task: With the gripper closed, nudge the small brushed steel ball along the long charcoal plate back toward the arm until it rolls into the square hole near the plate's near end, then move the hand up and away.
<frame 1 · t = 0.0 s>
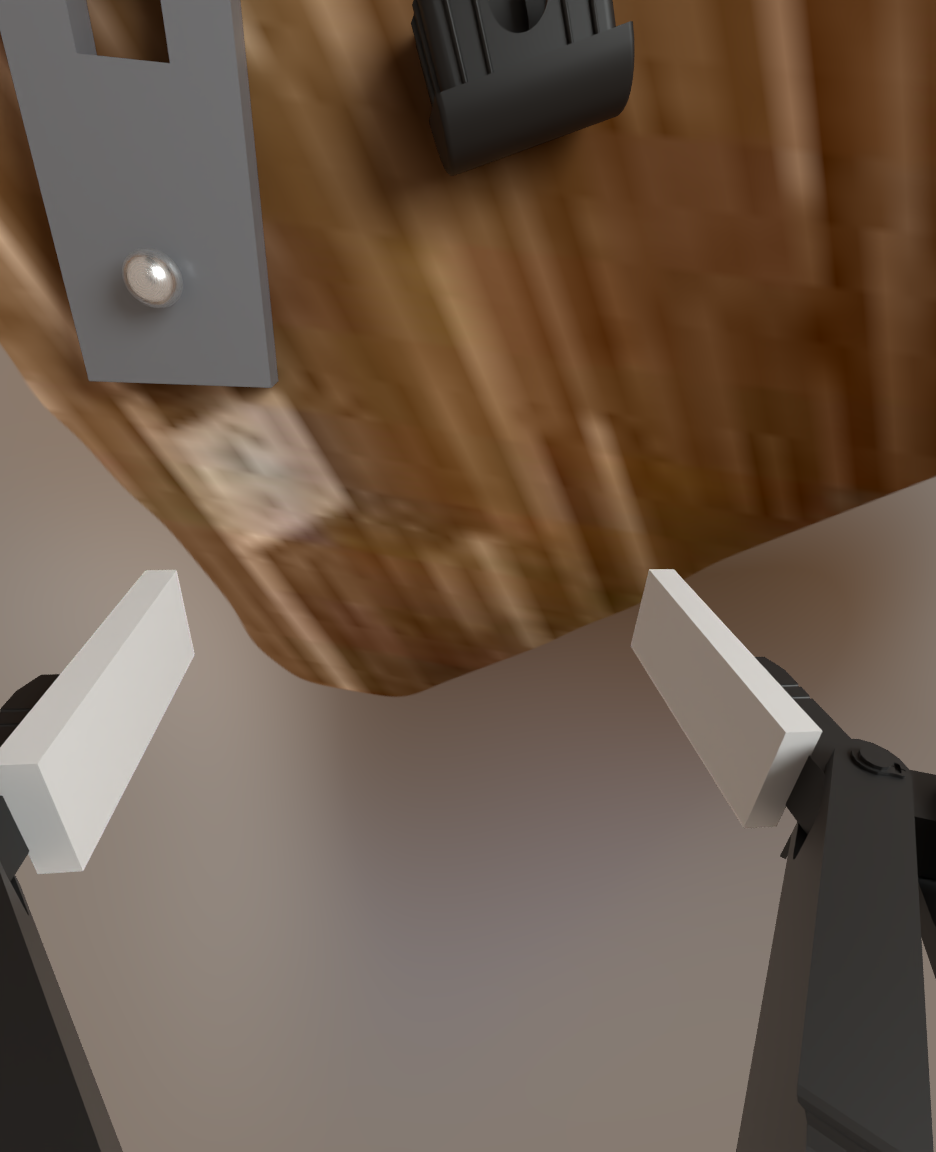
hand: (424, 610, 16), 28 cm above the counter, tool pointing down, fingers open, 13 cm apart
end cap: (506, 85, 33), on the counter
steel ball: (153, 278, 32), point 4 cm above the counter, touching hole plate
hole plate: (157, 159, 32), on the counter
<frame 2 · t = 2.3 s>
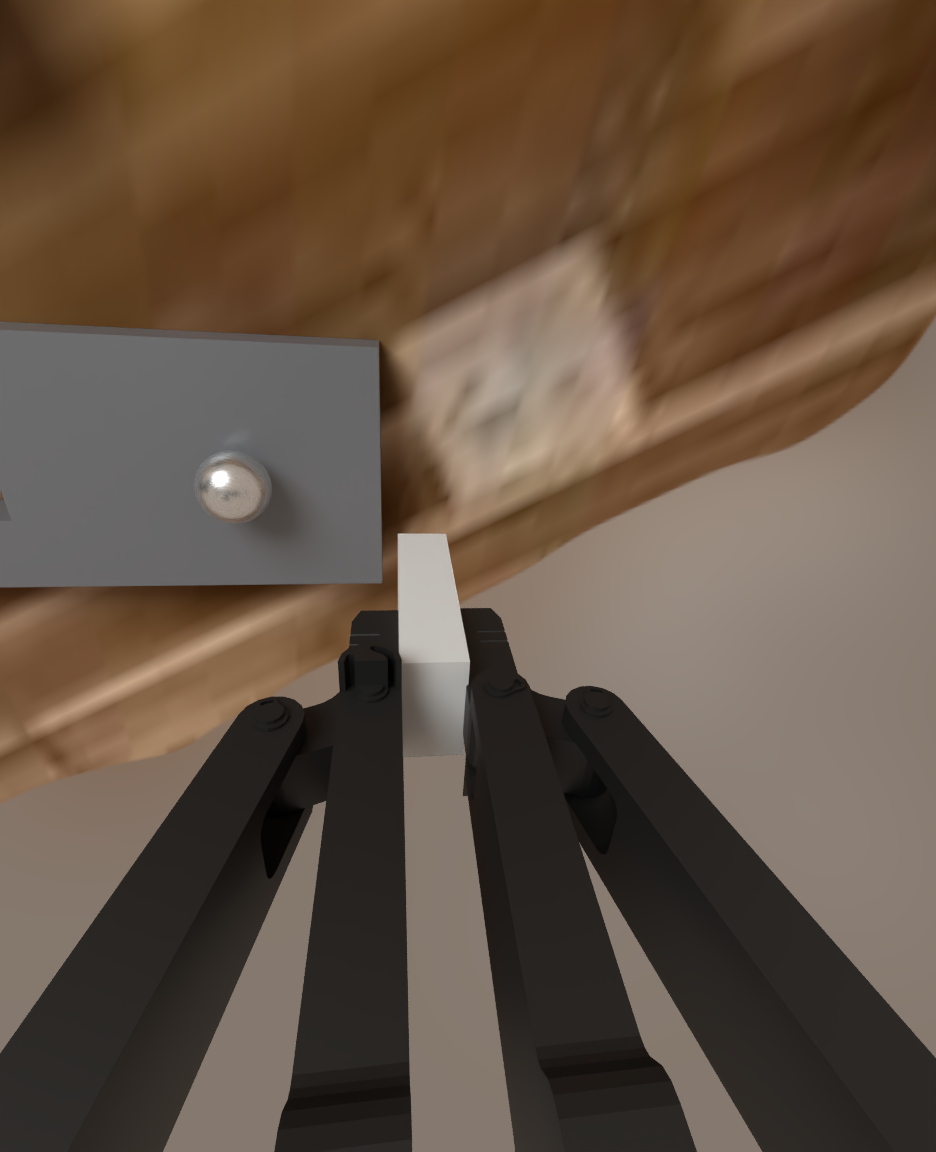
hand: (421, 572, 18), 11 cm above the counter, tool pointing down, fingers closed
steel ball: (233, 487, 23), point 4 cm above the counter, touching hole plate
hole plate: (117, 455, 26), on the counter
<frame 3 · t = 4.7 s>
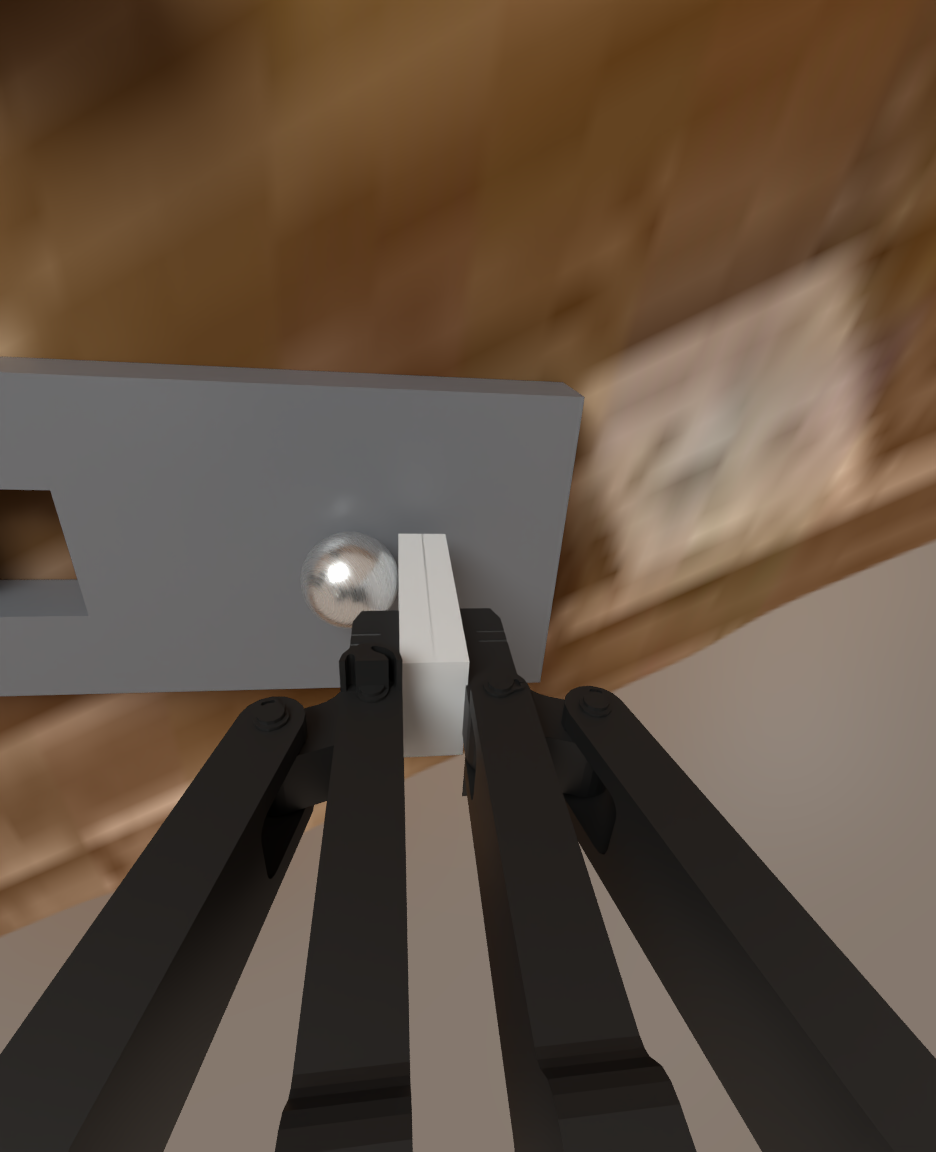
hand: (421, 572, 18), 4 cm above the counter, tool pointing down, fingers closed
steel ball: (350, 580, 17), point 4 cm above the counter, tilted 40°, touching gripper, hole plate
hole plate: (219, 526, 20), on the counter
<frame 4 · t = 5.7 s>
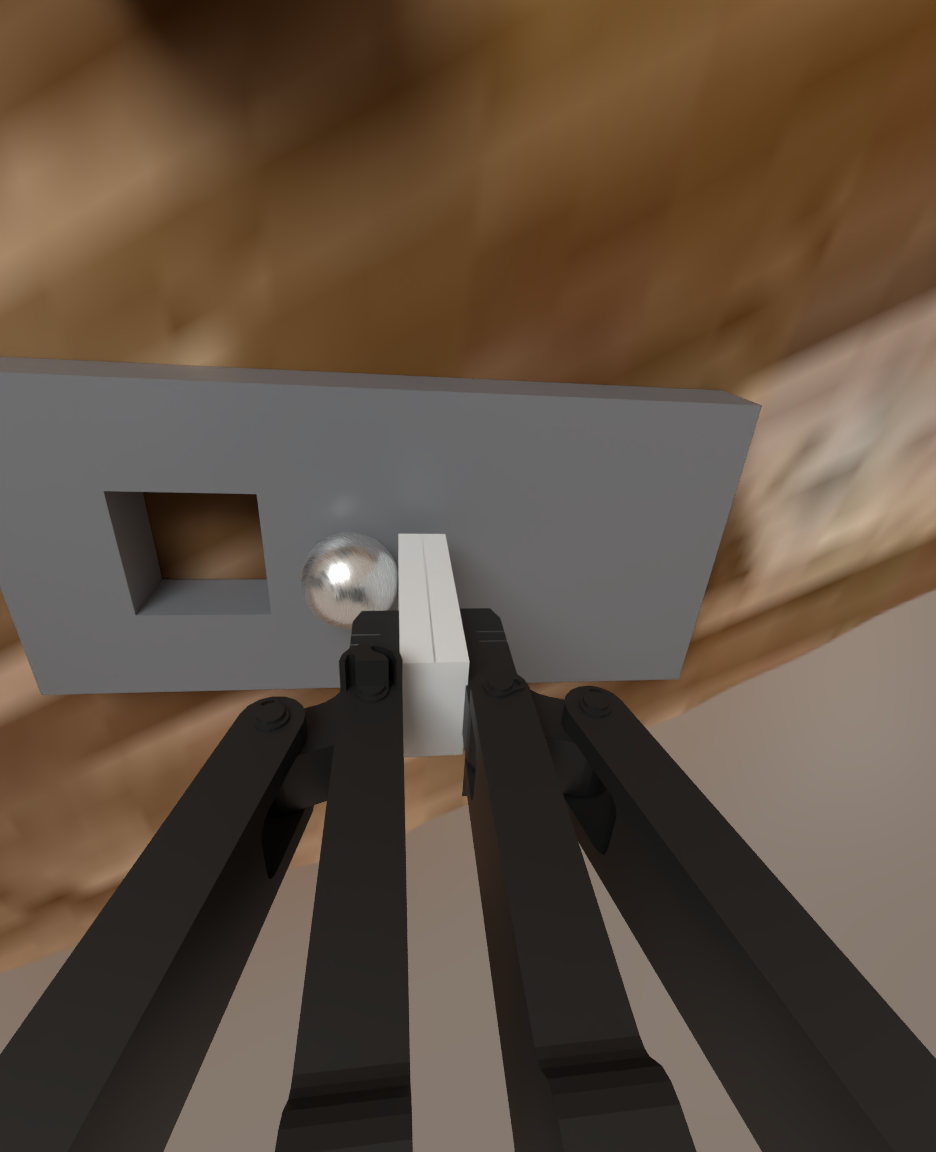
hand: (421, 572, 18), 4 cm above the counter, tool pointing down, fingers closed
steel ball: (350, 580, 17), point 4 cm above the counter, tilted 132°, touching gripper, hole plate
hole plate: (383, 528, 21), on the counter
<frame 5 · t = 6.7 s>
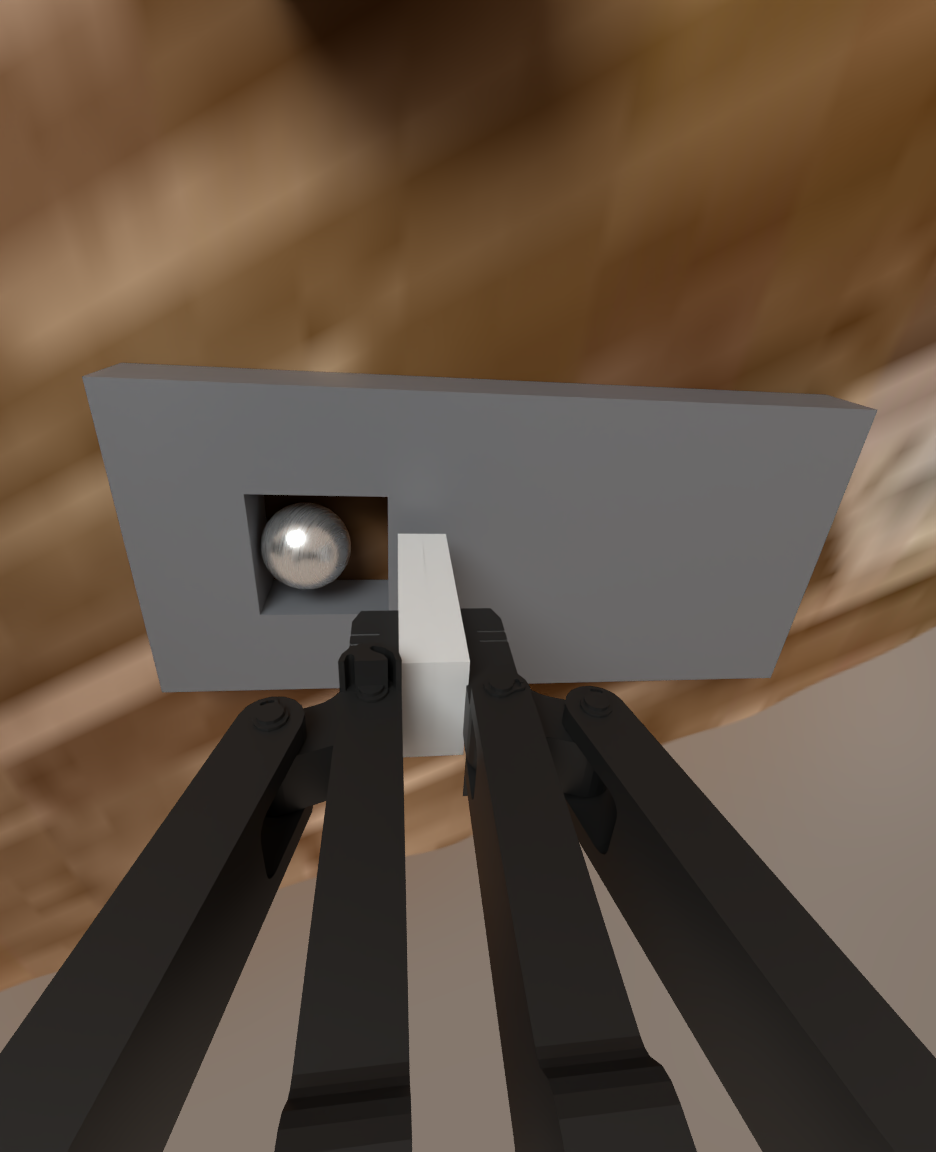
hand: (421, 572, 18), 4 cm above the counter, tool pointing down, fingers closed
steel ball: (306, 546, 19), point 1 cm above the counter, tilted 119°
hole plate: (489, 529, 22), on the counter
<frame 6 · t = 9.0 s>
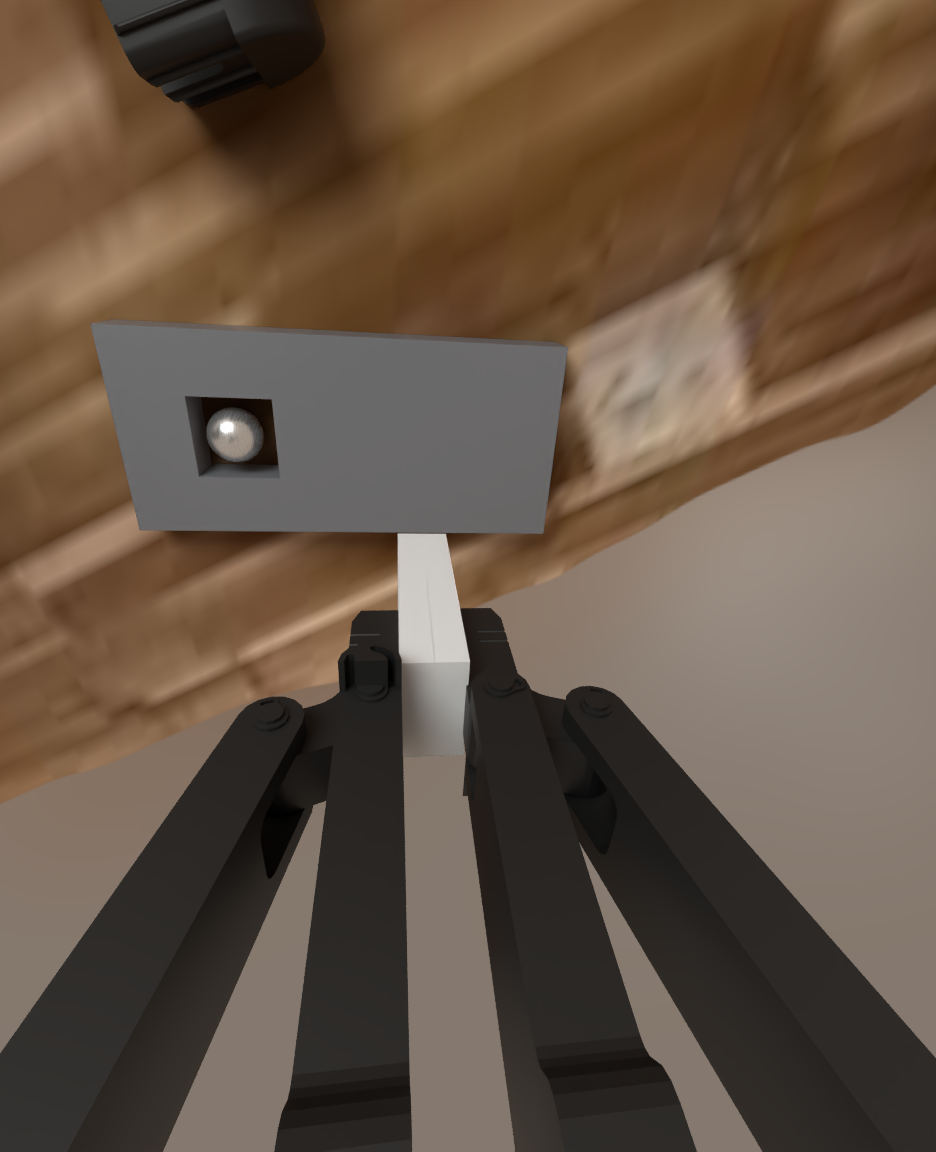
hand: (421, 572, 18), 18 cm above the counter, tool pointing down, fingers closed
steel ball: (235, 435, 32), point 1 cm above the counter, tilted 103°
hole plate: (349, 430, 34), on the counter
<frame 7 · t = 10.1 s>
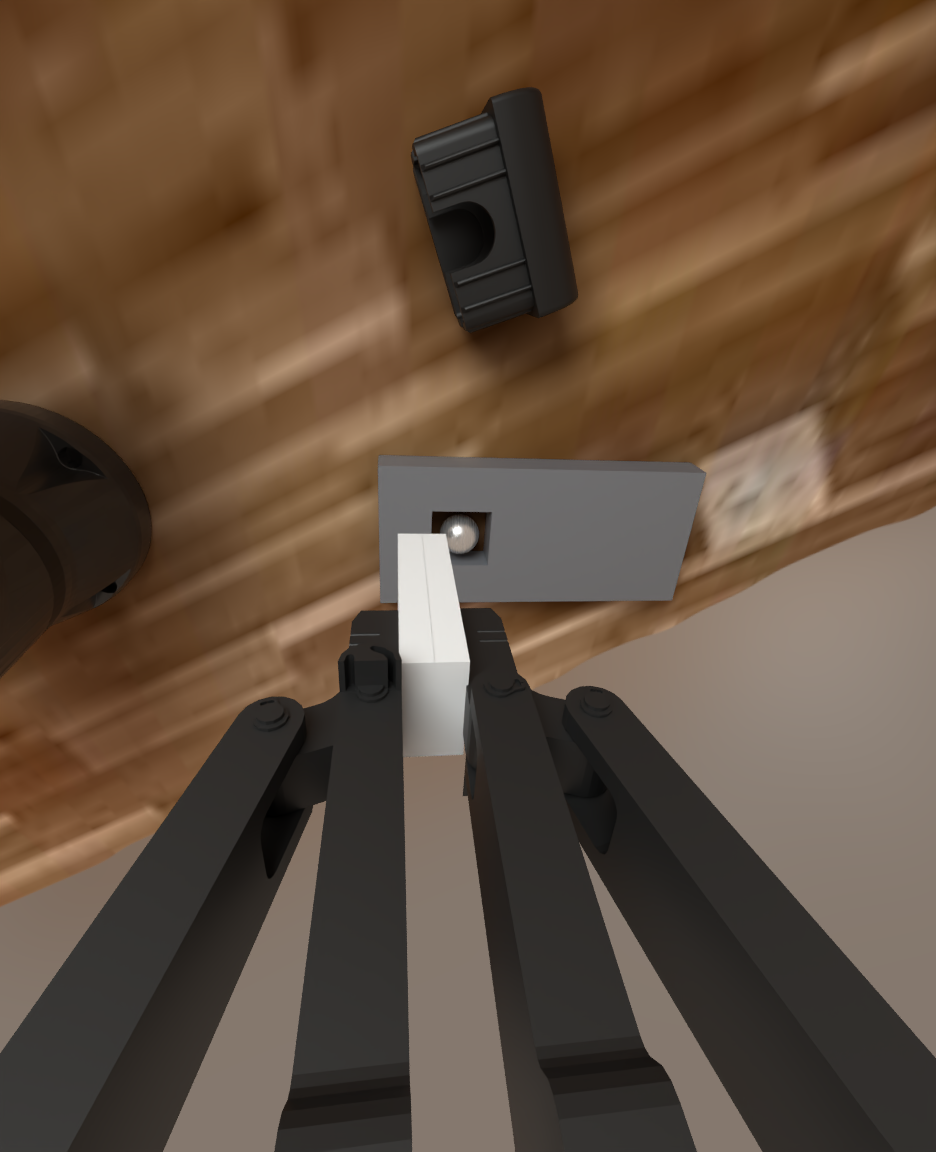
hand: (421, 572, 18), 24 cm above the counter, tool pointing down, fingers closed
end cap: (488, 228, 35), on the counter
steel ball: (459, 534, 43), point 1 cm above the counter, tilted 95°
hole plate: (532, 526, 45), on the counter
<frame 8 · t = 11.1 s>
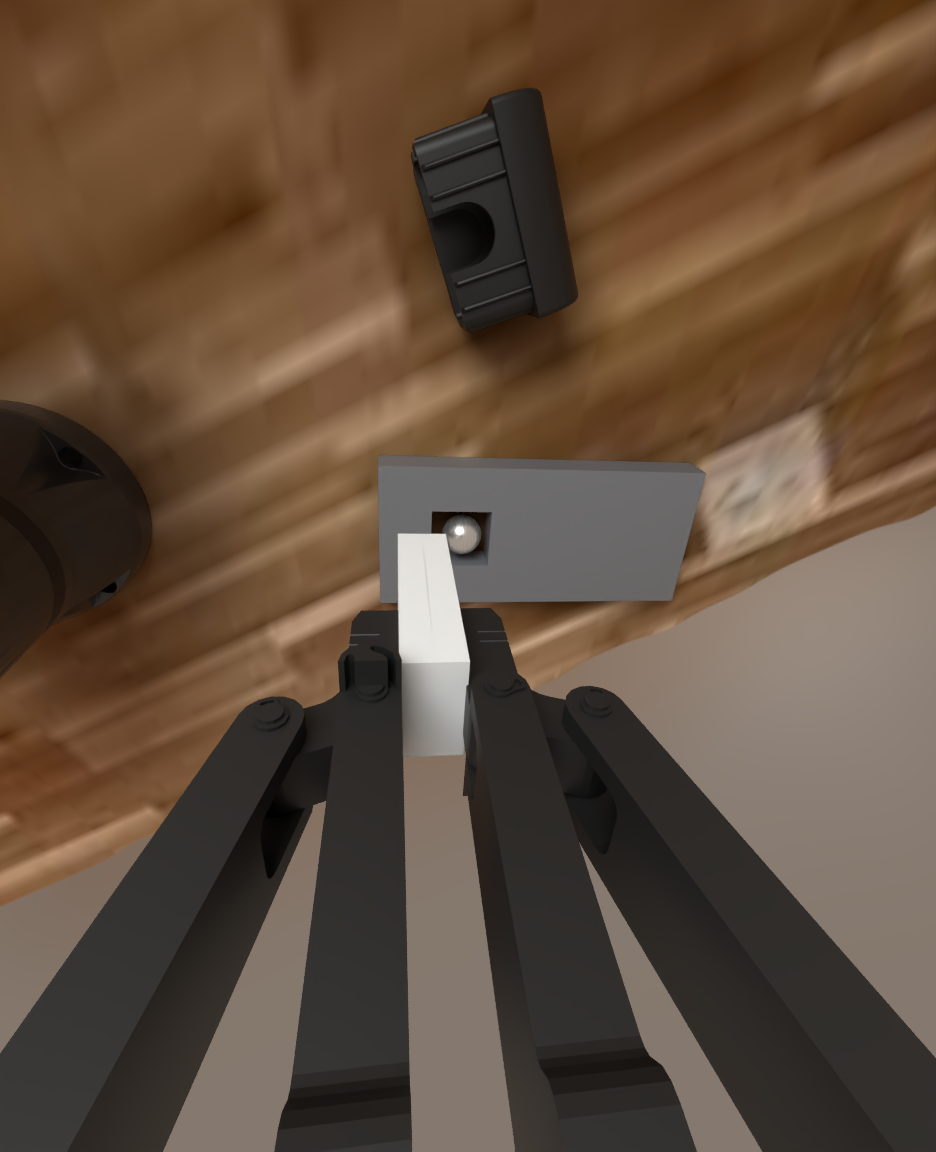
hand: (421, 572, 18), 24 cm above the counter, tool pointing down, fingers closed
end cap: (488, 228, 35), on the counter
steel ball: (461, 534, 43), point 1 cm above the counter, tilted 88°
hole plate: (532, 526, 45), on the counter
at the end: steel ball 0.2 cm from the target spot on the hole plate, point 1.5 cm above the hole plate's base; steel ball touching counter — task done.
